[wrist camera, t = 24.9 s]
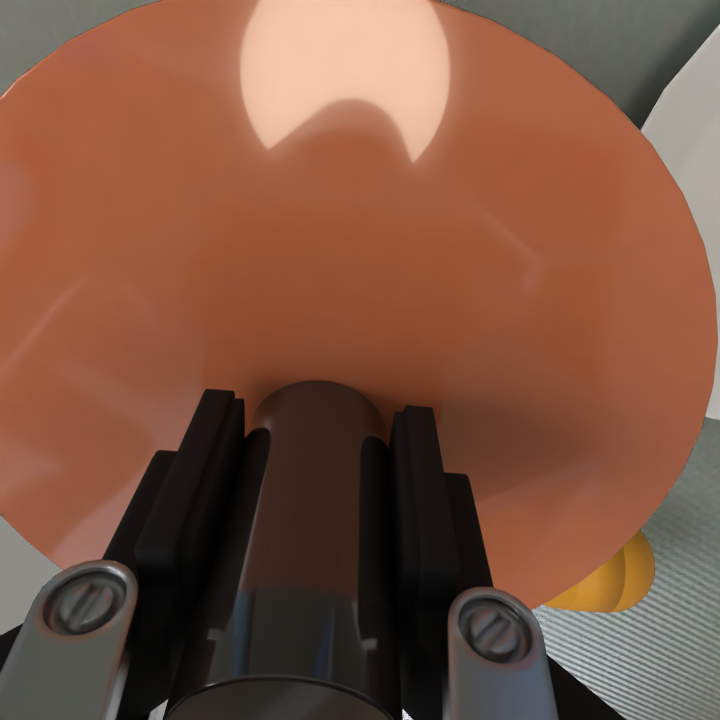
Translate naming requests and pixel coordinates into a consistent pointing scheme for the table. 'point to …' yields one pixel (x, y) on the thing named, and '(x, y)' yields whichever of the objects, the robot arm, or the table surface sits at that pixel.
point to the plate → (695, 156)
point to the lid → (338, 314)
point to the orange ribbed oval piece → (613, 581)
